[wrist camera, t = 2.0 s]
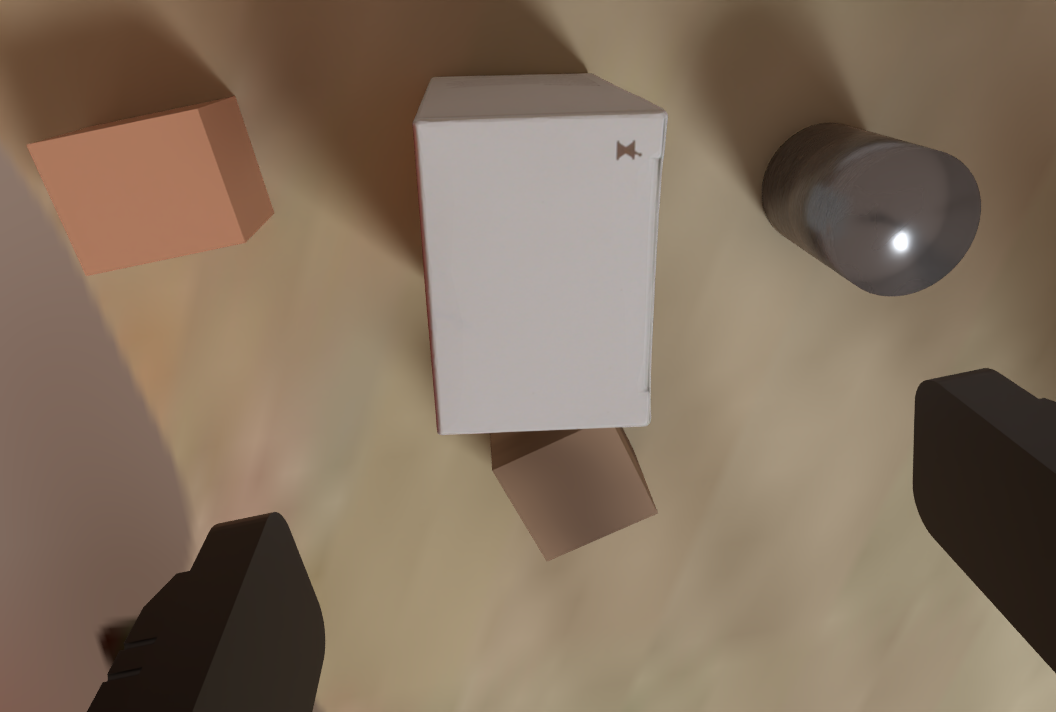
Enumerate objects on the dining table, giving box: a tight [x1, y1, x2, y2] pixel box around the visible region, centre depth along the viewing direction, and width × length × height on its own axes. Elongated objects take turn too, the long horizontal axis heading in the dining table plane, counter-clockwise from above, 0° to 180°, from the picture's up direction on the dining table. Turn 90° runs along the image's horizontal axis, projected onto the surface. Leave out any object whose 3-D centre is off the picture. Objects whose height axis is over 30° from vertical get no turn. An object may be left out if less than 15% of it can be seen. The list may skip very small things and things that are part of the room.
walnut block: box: [490, 427, 658, 561], centre depth 29 cm, size 4×4×4 cm
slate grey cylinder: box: [762, 123, 981, 296], centre depth 25 cm, size 4×4×6 cm
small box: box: [412, 73, 668, 435], centre depth 22 cm, size 8×6×10 cm
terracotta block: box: [27, 96, 274, 276], centre depth 24 cm, size 5×4×4 cm
